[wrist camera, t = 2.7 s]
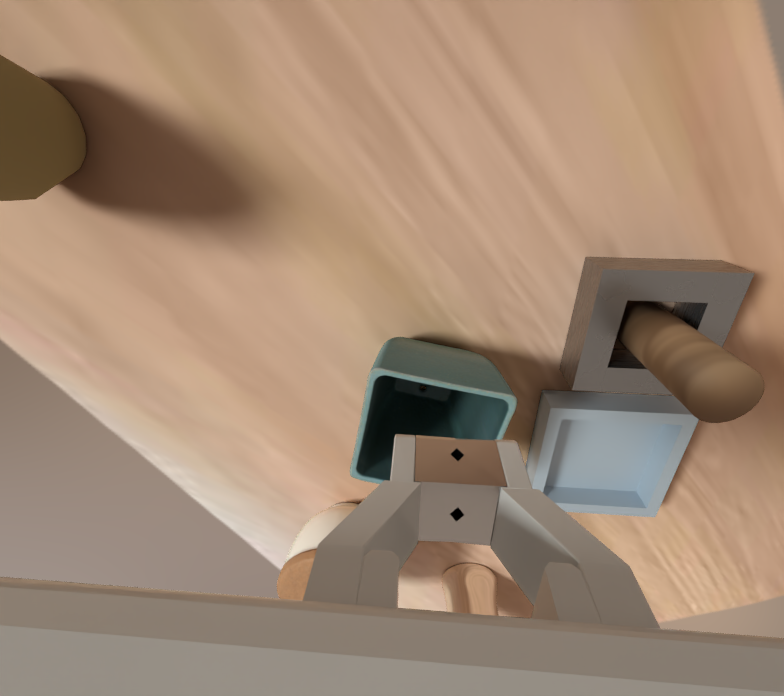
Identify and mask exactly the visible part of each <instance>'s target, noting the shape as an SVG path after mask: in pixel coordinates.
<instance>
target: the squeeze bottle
mask: <svg viewBox="0 0 784 696" xmlns="http://www.w3.org/2000/svg"><path fill="white" fill-rule="evenodd" d="M85 156H86V135H85V133H84V130H83V127H82V124H81V122H80V119H79V116H78V114H77V113H76V112H75V110H74V109H73V107H72V106H71V105H70V103H69V102H68V100H67V99H66V98H65V96H63V95H62V94H61V93H60V92H58V91H57V90H56V89H55V88H53V87H52V86H51V85H50V84H48V83H47V82H46V81H44V80H42V79H40V78H39V77H37V76H35V75H34V74H32V73H30V72H29V71H27V70H25V69H23V68H22V67H20V66H18V65H17V64H15V63H13V62H12V61H10V60H8V59H6V58H5V57H3V56H1V55H0V201H13V200H28V199H36V198H38V197H39V196H41V195H42V194H43V193H45V192H46V191H48V190H49V189H51V188H52V187H54V186H55V185H57V184H58V183H60V182H61V181H63V180H64V179H65V178H67V177H68V176H70V175H71V174H73V173H74V172H76V171H77V170H78V169H80V167H81V165H82V163H83V160H84V158H85Z"/></svg>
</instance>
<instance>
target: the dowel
mask: <svg viewBox="0 0 784 696" xmlns="http://www.w3.org/2000/svg"><path fill="white" fill-rule="evenodd" d="M616 338H617V339H618V340H619V341H620V342H621V343H622V344H623V345H624V346H625V347H626V348H627V349H628V350H629V351H630V352H631V353H632V354H633V355H634V356H635V357H636V358H637V359H638V360H639V361H640V362H641V363H642V364H643V365H644V366H645V367H646V368H647V369H648V370H649V371H650V372H651V373H652V374H653V375H654V376H655V377H656V378H657V379H658V380H659V381H660V382H661V383H662V384H663V385H664V386H665V387H666V388H667V389H668V390H669V391H670V392H671V393H672V394H673V395H674V396H675V397H676V398H677V399H678V400H679V401H680V402H681V403H682V404H683V405H684V406H685V407H686V408H687V409H688V410H689V411H690V412H691V413H692V414H693V415H694V416H695V417H696V418H697V419H699V420H702V421H705V422H710V423H720V422H726V421H730V420H733V419H736V418H738V417H740V416H742V415H744V414H746V413H747V412H748V411H750V410H751V409H752V408H753V407H754V406H755V405H756V404H757V403H758V402H759V400H760V399H761V397H762V395H763V392H764V380H763V378H762V376H761V375H760V374H759V373H758V372H757V371H756V370H754V369H753V368H751V367H750V366H748V365H747V364H746V363H744V362H743V361H741V360H740V359H738V358H737V357H735V356H734V355H732V354H731V353H729V352H728V351H726V350H725V349H724V348H722V347H721V346H719V345H718V344H716V343H715V342H713V341H712V340H710V339H709V338H707V337H706V336H705V335H703V334H702V333H700V332H699V331H697V330H696V329H694V328H693V327H691V326H690V325H688V324H687V323H686V322H684V321H683V320H681V319H680V318H678V317H677V316H675V315H674V314H672V313H671V312H669V311H668V310H666V309H665V308H664V307H662V306H661V305H659V304H658V303H656V302H655V301H631V300H627V303H626V306H625V310H624V313H623V317H622V320H621V323H620V327H619V330H618V333H617V337H616Z"/></svg>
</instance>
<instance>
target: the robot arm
mask: <svg viewBox="0 0 784 696" xmlns="http://www.w3.org/2000/svg"><path fill="white" fill-rule="evenodd" d="M418 541H439V542H458V543H469V544H479V545H489V546H491V549H492V550H493V551H494V553H495V554H496V556H497V557H498V558H499V560H500V561H501V562H502V564H503V565H504V566H505V568H506V569H507V571H508V572H509V573H510V575H511V576H512V577H513V579H514V580H515V582H516V583H517V584H518V586H519V587H520V588H521V590H522V591H523V592H524V594H525V595H526V597H527V598H528V599H529V601H530V602H531V603H532V605H533V606H534V608H533V612H532V615H531V618H520V617H507V616H494V615H482V614H469V613H456V612H444V611H431V610H418V609H406V608H398V576H399V571H400V569H401V568H402V566H403V565H404V563H405V562H406V560H407V559H408V557H409V556H410V554H411V553H412V551H413V550H414V548H415V547H416V545H417V544H418ZM0 696H784V638H775V637H762V636H749V635H736V634H724V633H711V632H699V631H686V630H673V629H661V628H660V627H659V625H658V623H657V621H656V619H655V617H654V615H653V613H652V611H651V608H650V606H649V604H648V602H647V600H646V598H645V596H644V594H643V592H642V590H641V588H640V586H639V584H638V582H637V580H636V578H635V576H634V574H633V572H632V570H631V568H630V566H629V565H627V564H626V563H625V562H624V561H623V560H622V559H620V558H619V557H618V556H617V555H616V554H614V553H613V552H612V551H611V550H610V549H609V548H607V547H606V546H605V545H604V544H603V543H602V542H600V541H599V540H598V539H597V538H596V537H594V536H593V535H592V534H591V533H590V532H589V531H587V530H586V529H585V528H584V527H583V526H581V525H580V524H579V523H578V522H577V521H576V520H574V519H573V518H572V517H571V516H570V515H569V514H567V513H566V512H565V511H564V510H563V509H561V508H560V507H559V506H558V505H557V504H556V503H554V502H553V501H552V500H551V499H550V498H549V497H547V496H546V495H545V494H544V493H543V492H541V491H540V490H539V489H533V488H532V485H531V482H530V479H529V476H528V473H527V470H526V467H525V464H524V461H523V458H522V455H521V452H520V449H519V446H518V443H517V442H516V441H515V440H482V439H461V438H448V437H434V436H421V435H416V442H415V435H403V434H396V435H395V438H394V447H393V457H392V467H391V476H390V481H388V480H384V481H383V482H382V483H381V484H380V485H379V486H378V487H377V488H376V489H375V490H374V491H373V492H372V493H371V494H369V495H368V496H367V497H366V498H365V499H364V500H363V501H362V502H361V503H360V504H359V505H358V506H357V507H356V508H355V509H354V510H353V511H352V512H351V513H350V514H349V515H348V516H347V517H346V518H345V519H344V520H343V521H342V522H341V523H339V524H338V525H337V526H336V527H335V528H334V529H333V530H332V531H331V532H330V533H329V534H328V535H327V536H326V537H325V538H324V539H323V540H322V541H321V542H320V543H319V544H318V547H317V550H316V554H315V558H314V561H313V565H312V569H311V572H310V576H309V580H308V583H307V587H306V590H305V594H304V598H303V600H291V599H278V598H265V597H252V596H239V595H227V594H214V593H202V592H189V591H176V590H163V589H151V588H138V587H125V586H112V585H98V584H87V583H86V584H85V583H74V582H60V581H48V580H35V579H22V578H10V577H0Z"/></svg>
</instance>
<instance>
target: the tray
mask: <svg viewBox="0 0 784 696" xmlns="http://www.w3.org/2000/svg"><path fill="white" fill-rule="evenodd" d="M698 421H699V419H697V418H696V417H695V416H694V415H693V414H692V413H691V412H690V411H689V410H688V409H687V408H686V407H685V406H684V405H683V404H682V403H681V402H680V401H679V400H678V399H677V398H676V397H675V396H664V395H642V394H619V393H597V392H575V391H553V390H542V393H541V398H540V402H539V407H538V412H537V416H536V421H535V425H534V430H533V435H532V439H531V444H530V449H529V453H528V458H527V463H526V470H527V473H528V476H529V479H530V482H531V485H532V488H533V489H539V490H540V491H541V492H543V493H544V494H545V495H546V496H547V497H549V498H550V499H551V500H552V501H553V502H554V503H556V504H557V505H558V506H559V507H560V508H561V509H563V510H564V511H565V512H579V513H595V514H611V515H627V516H643V517H655V516H656V514H657V512H658V510H659V508H660V505H661V503H662V501H663V499H664V496H665V494H666V492H667V490H668V488H669V485H670V483H671V481H672V479H673V476H674V474H675V472H676V470H677V467H678V465H679V463H680V461H681V459H682V456H683V454H684V452H685V450H686V447H687V445H688V443H689V441H690V439H691V436H692V434H693V432H694V430H695V427H696V425H697V423H698Z"/></svg>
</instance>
